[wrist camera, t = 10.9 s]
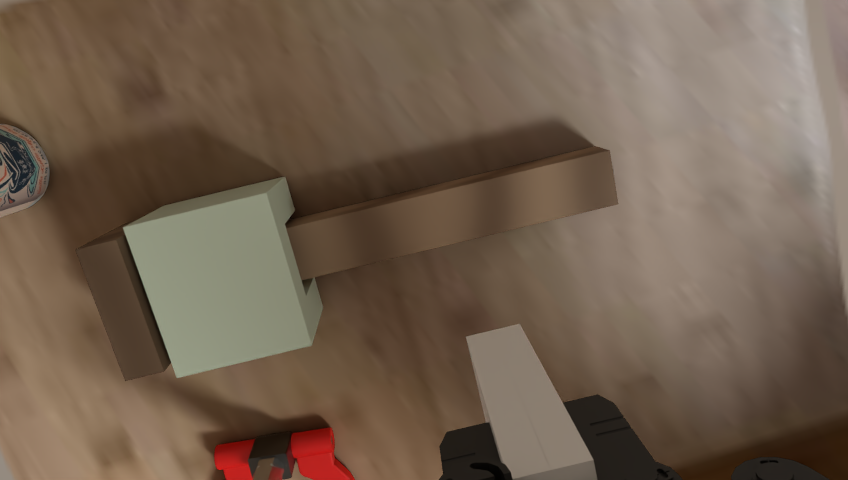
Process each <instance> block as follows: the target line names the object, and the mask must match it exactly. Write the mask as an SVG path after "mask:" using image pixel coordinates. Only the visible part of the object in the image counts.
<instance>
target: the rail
mask: <svg viewBox="0 0 848 480" xmlns="http://www.w3.org/2000/svg"><path fill="white" fill-rule="evenodd" d="M617 204H618V199H617V193H616V187H615V181H614V175H613V168H612V162H611V156H610V150H606V149H603V148H600V147H596V146H594V147H590V148H585V149H581V150H577V151H573V152H569V153H565V154H561V155H556V156H552V157H548V158H544V159H540V160H536V161H532V162H527V163H523V164H519V165H515V166H511V167H507V168H502V169H498V170H494V171H490V172H486V173H482V174H478V175H473V176H469V177H465V178H461V179H457V180H453V181H449V182H444V183H440V184H436V185H432V186H428V187H424V188H420V189H415V190H411V191H407V192H403V193H399V194H395V195H391V196H386V197H382V198H378V199H374V200H370V201H366V202H362V203H357V204H353V205H349V206H345V207H341V208H337V209H333V210H328V211H324V212H320V213H316V214H312V215H308V216H304V217H299V218H295V219H291V220H288V221H287V222H286V223H285V226H286V230H287V233H288V237H289V240H290V243H291V247H292V250H293V253H294V257H295V260H296V264H297V267H298V270H299V274H300V277H301V280H306V279H310V278H314V277H318V276H322V275H326V274H330V273H335V272H339V271H343V270H347V269H351V268H355V267H359V266H364V265H368V264H372V263H376V262H380V261H384V260H388V259H393V258H397V257H401V256H405V255H409V254H413V253H418V252H422V251H426V250H430V249H434V248H438V247H442V246H447V245H451V244H455V243H459V242H463V241H467V240H471V239H476V238H480V237H484V236H488V235H492V234H496V233H500V232H505V231H509V230H513V229H517V228H521V227H525V226H530V225H534V224H538V223H542V222H546V221H550V220H554V219H559V218H563V217H567V216H571V215H575V214H579V213H583V212H588V211H592V210H596V209H600V208H604V207H608V206H612V205H617ZM130 223H132V222H130ZM130 223H126V224H124V225H122V226H120V227H118V228H116V229H114V230H112V231H110V232H108V233H106V234H104V235H103V236H101V237H99V238H97V239H95V240H93V241H91V242H89V243H87V244H85V245H83V246H81V247H80V248H78V249H76V253H77V256H78V258H79V261H80V263H81V266H82V269H83V271H84V274H85V277H86V279H87V282H88V284H89V287H90V290H91V292H92V295H93V298H94V300H95V303H96V305H97V308H98V311H99V313H100V316H101V319H102V321H103V324H104V326H105V329H106V332H107V334H108V337H109V340H110V342H111V345H112V347H113V350H114V353H115V355H116V358H117V361H118V363H119V366H120V368H121V371H122V374H123V376H124V379H125V381H127V380H131V379H135V378H139V377H144V376H148V375H152V374H156V373H160V372H164V371H165V370H166V368H167V367H168V366H169V365H170V363H171V360H170V358H169V355H168V352H167V349H166V346H165V344H164V341H163V338H162V335H161V332H160V330H159V327H158V324H157V321H156V319H155V316H154V313H153V310H152V307H151V305H150V302H149V299H148V296H147V293H146V291H145V288H144V285H143V282H142V280H141V277H140V274H139V271H138V268H137V266H136V263H135V260H134V257H133V254H132V252H131V249H130V246H129V243H128V241H127V238H126V235H125V232H124V229H123V227H125V226H126V225H128V224H130Z"/></svg>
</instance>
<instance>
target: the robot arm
mask: <svg viewBox="0 0 848 480" xmlns="http://www.w3.org/2000/svg"><path fill="white" fill-rule="evenodd" d="M466 339H467V344H468V348H469V352H470V357H471V361H472V365H473V369H474V374H475V378H476V382H477V386H478V391H479V395H480V399H481V404H482V408H483V412H484V416H485V421H486V423H483V424H479V425H474V426H470V427H466V428H462V429H457V430H453V431H449V432H447V433H446V435H445V437H444V439H443V441H442V443H441V445H440V454H441V461H442V469H443V475H442V476H441V478H440V479H439V480H682V478H681V477H680V476H679V475H678V474H677V473H676V472H675V471H674V470H673V469H671V468H670V467H668V466H666V465H663V464H660V463H658V462H655V461H654V459H653V458H652V456H651V455H650V453H649V452H648V451H647V449H646V448H645V446H644V445H643V444H642V442H641V441H640V439H639V438H638V436H637V435H636V434H635V432H634V431H633V429H631V427H630V425H629V424H628V422H627V421H626V419H625V418H623V415H622V414H621V412H620V411H619V410H618V408H617V407H616V405H615V404H614V403H613V402H611V401H609V400H607V399H605V398H603V397H601V396H599V395H594V396H590V397H585V398H581V399H577V400H573V401H569V402H564V403H562V401H561V399H560V397H559V395H558V393H557V392H556V390H555V388H554V386H553V384H552V382H551V380H550V379H549V377H548V375H547V373H546V371H545V369H544V368H543V366H542V364H541V362H540V360H539V358H538V356H537V355H536V353H535V351H534V349H533V347H532V345H531V344H530V342H529V340H528V338H527V336H526V334H525V333H524V331H523V329H522V327H521V325H520V324H516V325H512V326H508V327H504V328H500V329H495V330H491V331H487V332H483V333H479V334H474V335H470V336H466ZM731 479H732V480H829V479H828V478H826V477H824V476H823V475H821V474H819V473H818V472H816V471H814V470H813V469H811V468H809V467H807V466H805V465H803V464H800V463H798V462H796V461H793V460H789V459H783V458H778V457H759V458H756V459H752V460H748V461H745V462H743V463H742V464H740V465H739V466H737V467H736V468H735V470H734V472H733V474H732V476H731Z"/></svg>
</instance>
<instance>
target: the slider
mask: <svg viewBox="0 0 848 480" xmlns="http://www.w3.org/2000/svg"><path fill="white" fill-rule="evenodd" d="M294 211H295V208H294V205H293V202H292V198H291V195H290V191H289V188H288V184H287V181H286V177H280V178H276V179H272V180H268V181H264V182H260V183H256V184H251V185H247V186H243V187H239V188H235V189H231V190H227V191H222V192H218V193H214V194H210V195H206V196H202V197H198V198H193V199H189V200H185V201H181V202H177V203H173V204H169V205H164V206H162V207H160V208H158V209H157V210H155V211H153V212H151V213H149V214H147V215H145V216H143V217H141V218H140V219H138V220H136V221H134V222H132V223H130V224H128V225H126V226H125V227H123V229H124V232H125V235H126V238H127V241H128V243H129V246H130V249H131V252H132V254H133V257H134V260H135V263H136V266H137V268H138V271H139V274H140V277H141V280H142V282H143V285H144V288H145V291H146V293H147V296H148V299H149V302H150V305H151V307H152V310H153V313H154V316H155V319H156V321H157V324H158V327H159V330H160V332H161V335H162V338H163V341H164V344H165V346H166V349H167V352H168V355H169V358H170V360H171V363H172V366H173V369H174V371H175V374H176V377H177V378H180V377H184V376H188V375H192V374H196V373H200V372H204V371H209V370H213V369H217V368H221V367H225V366H229V365H234V364H238V363H242V362H246V361H250V360H254V359H258V358H263V357H267V356H271V355H275V354H279V353H283V352H288V351H292V350H296V349H300V348H304V347H308V346H312V344H313V340H314V337H315V334H316V330H317V327H318V324H319V320H320V317H321V313H322V310H323V305H322V302H321V298H320V295H319V291H318V288H317V285H316V281H315V278H310V279H306V280H301V277H300V274H299V270H298V267H297V264H296V260H295V257H294V253H293V250H292V247H291V243H290V240H289V237H288V233H287V230H286V226H285V223H286V222H287V221H288V219H289V218H290V217H291V215H292V214H293V213H294Z"/></svg>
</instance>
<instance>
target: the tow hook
mask: <svg viewBox="0 0 848 480" xmlns="http://www.w3.org/2000/svg"><path fill="white" fill-rule="evenodd" d="M334 448H335V442H334V434H333V431H332V428H331V427H330V428H323V429H317V430H310V431H304V432H297V433H293V432H285V433H279V434H272V435H266V436H259V437H257V438H256V439H252V440H245V441H239V442H232V443H226V444H219V445H217V446H216V448H215V454H214V458H215V465H216V467H217V469H218V470H223V471H224V475H225V479H226V480H282V479H288V478H291V477H292V473H293V468H294V464H295V460H296V458H297V463H298V467H299V471H300V474H302V475H303V476H305V477H308V478H311V479H313V480H355V479H354V477H353V476H352V474H351V473H350V471H349V470H348V469H347V468H346V467H344V466H343V465H342V464H341V463H340V462H339V461H338V460H337V459H335V457H334Z"/></svg>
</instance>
